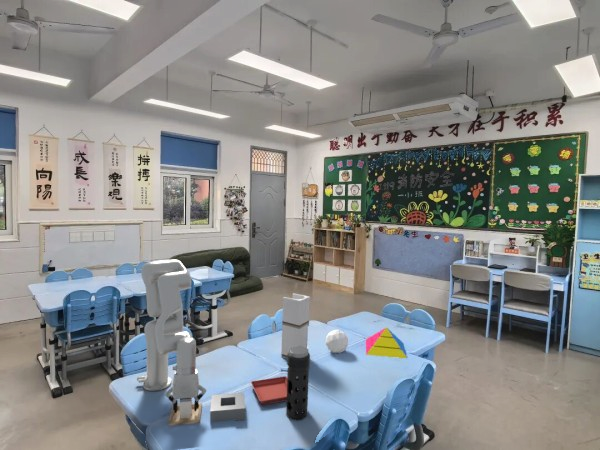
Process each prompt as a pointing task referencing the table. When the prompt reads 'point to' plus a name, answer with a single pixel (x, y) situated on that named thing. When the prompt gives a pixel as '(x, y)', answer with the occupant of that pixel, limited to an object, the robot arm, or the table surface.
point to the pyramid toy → (385, 345)
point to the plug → (185, 408)
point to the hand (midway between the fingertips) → (185, 409)
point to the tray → (176, 420)
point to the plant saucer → (271, 389)
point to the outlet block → (227, 407)
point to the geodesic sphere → (336, 341)
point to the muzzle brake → (297, 382)
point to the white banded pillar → (295, 322)
